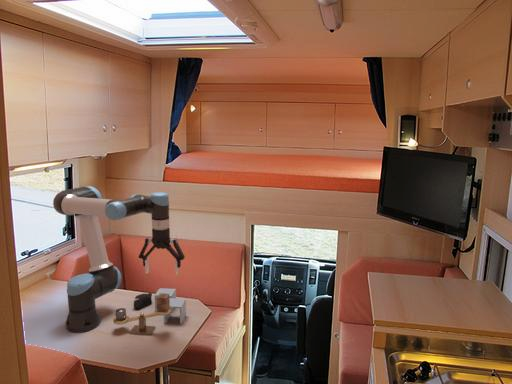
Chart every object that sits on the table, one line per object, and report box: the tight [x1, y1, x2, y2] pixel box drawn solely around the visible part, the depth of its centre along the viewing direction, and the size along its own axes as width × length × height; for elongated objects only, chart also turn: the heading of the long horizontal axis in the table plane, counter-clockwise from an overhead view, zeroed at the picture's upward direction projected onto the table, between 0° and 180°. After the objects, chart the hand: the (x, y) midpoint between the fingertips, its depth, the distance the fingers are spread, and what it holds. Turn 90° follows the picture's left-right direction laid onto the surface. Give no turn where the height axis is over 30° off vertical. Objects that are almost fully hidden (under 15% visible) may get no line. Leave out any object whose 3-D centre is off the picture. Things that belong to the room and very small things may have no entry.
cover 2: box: [163, 297, 187, 325], centre depth 197 cm, size 9×9×9 cm
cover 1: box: [154, 287, 177, 314], centre depth 208 cm, size 9×9×9 cm
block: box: [157, 293, 170, 313], centre depth 183 cm, size 4×4×7 cm
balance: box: [113, 307, 172, 336], centre depth 186 cm, size 27×7×11 cm, turn 86°
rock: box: [133, 292, 153, 310], centre depth 211 cm, size 9×10×6 cm
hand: (162, 273), depth 181 cm, fingers open, 13 cm apart
